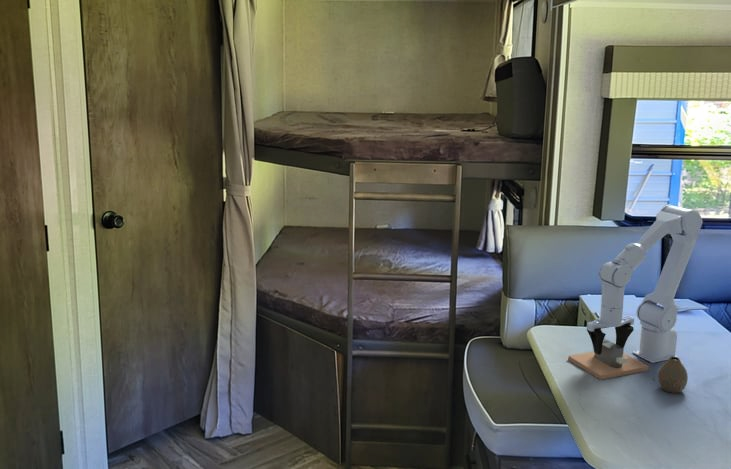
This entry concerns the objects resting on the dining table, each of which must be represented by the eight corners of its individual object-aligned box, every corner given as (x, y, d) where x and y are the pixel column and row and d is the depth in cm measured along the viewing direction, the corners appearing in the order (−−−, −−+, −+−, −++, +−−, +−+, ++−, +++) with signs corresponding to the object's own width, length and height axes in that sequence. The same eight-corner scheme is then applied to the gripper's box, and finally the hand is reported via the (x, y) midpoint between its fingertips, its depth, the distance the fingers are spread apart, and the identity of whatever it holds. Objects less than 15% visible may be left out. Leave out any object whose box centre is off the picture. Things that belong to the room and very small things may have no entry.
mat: (613, 351, 194) (613, 347, 194) (648, 370, 181) (648, 366, 181) (568, 359, 189) (568, 355, 189) (600, 379, 176) (601, 375, 176)
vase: (674, 398, 166) (677, 366, 164) (651, 387, 172) (654, 356, 170) (692, 392, 169) (695, 360, 167) (669, 381, 175) (672, 350, 173)
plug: (601, 353, 190) (603, 337, 189) (628, 368, 180) (629, 351, 179) (591, 355, 189) (592, 339, 188) (617, 370, 179) (619, 353, 178)
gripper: (623, 297, 187) (619, 342, 190) (580, 304, 182) (577, 349, 186) (641, 305, 181) (637, 351, 184) (597, 312, 176) (594, 359, 179)
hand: (608, 351), depth 184 cm, fingers open, 7 cm apart
